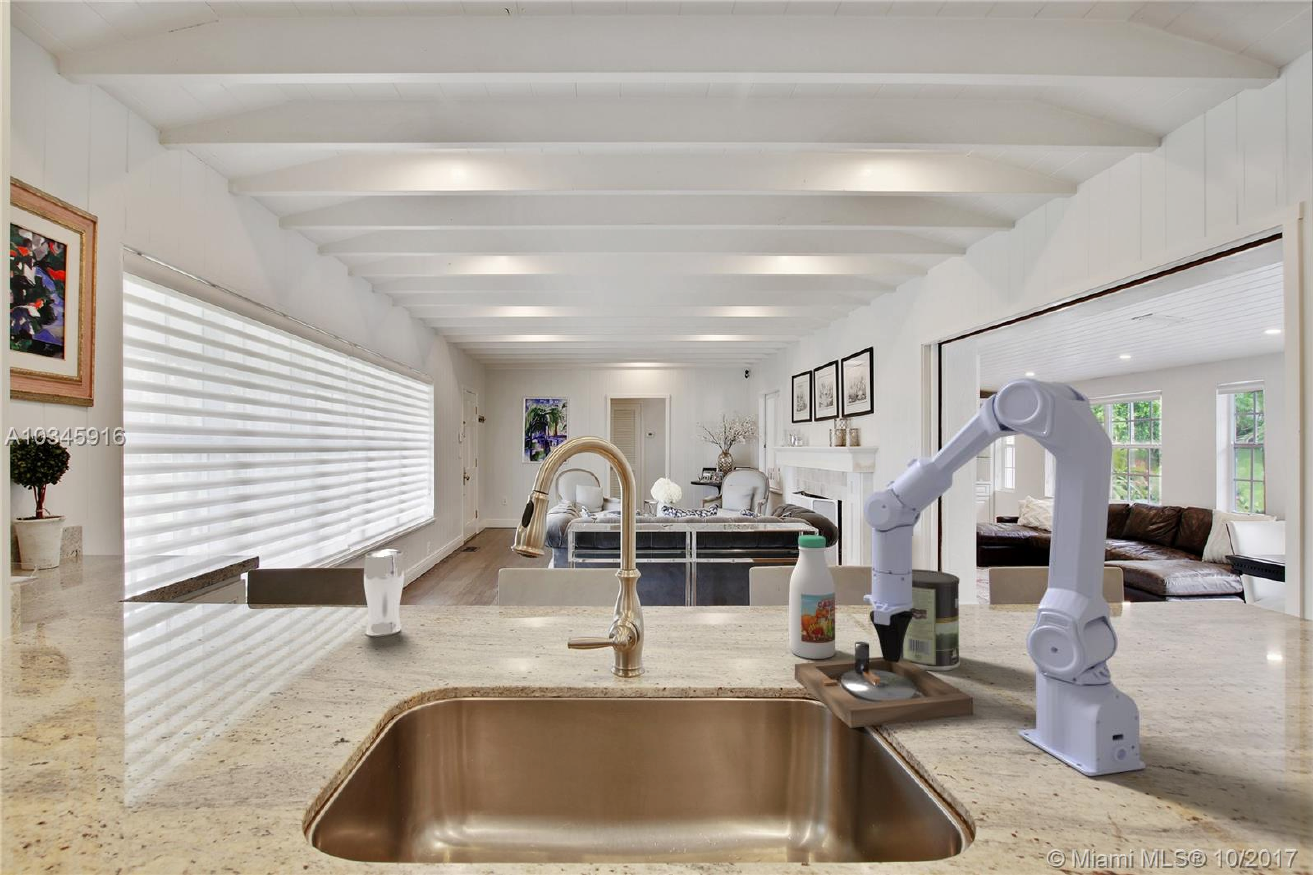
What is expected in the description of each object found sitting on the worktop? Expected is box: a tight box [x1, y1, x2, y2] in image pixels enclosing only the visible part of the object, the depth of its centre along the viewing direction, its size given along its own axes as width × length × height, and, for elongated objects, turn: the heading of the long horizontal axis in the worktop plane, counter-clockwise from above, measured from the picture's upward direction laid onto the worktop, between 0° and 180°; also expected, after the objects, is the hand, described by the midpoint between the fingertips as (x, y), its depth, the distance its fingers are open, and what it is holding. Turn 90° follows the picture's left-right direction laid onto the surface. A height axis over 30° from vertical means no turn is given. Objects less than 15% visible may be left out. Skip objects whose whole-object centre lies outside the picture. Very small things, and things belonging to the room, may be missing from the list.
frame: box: [794, 656, 974, 729], centre depth 84 cm, size 16×18×3 cm
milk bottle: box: [788, 534, 836, 660], centre depth 101 cm, size 8×8×20 cm
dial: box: [840, 641, 917, 703], centre depth 84 cm, size 10×10×6 cm
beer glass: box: [363, 549, 405, 637], centre depth 112 cm, size 7×7×15 cm
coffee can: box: [901, 568, 961, 672], centre depth 98 cm, size 10×10×14 cm
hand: (891, 660), depth 89 cm, fingers closed
